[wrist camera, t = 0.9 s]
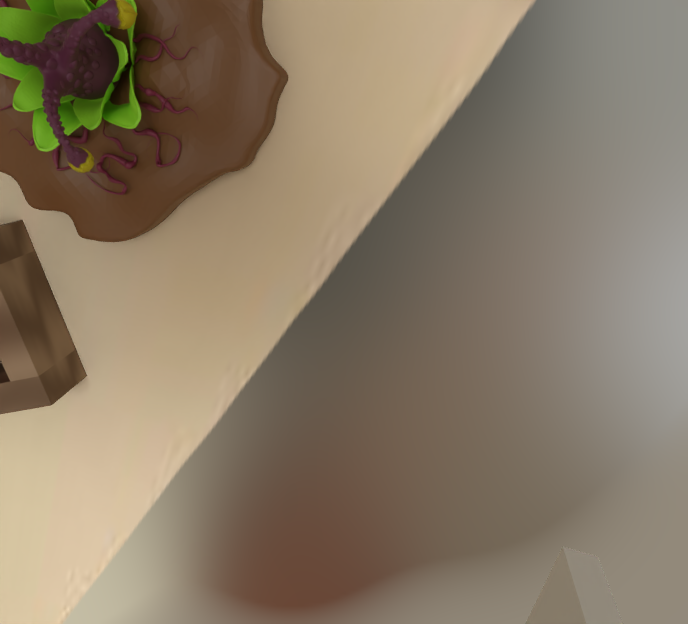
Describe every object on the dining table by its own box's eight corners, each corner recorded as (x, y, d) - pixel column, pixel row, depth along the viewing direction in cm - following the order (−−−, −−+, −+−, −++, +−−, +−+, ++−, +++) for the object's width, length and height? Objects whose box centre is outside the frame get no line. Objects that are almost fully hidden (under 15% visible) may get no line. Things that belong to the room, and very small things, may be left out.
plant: (140, -219, 32) (1, -372, 21) (331, 113, 36) (293, 121, 26) (-100, 5, 37) (-304, -30, 27) (92, 268, 42) (-19, 326, 31)
